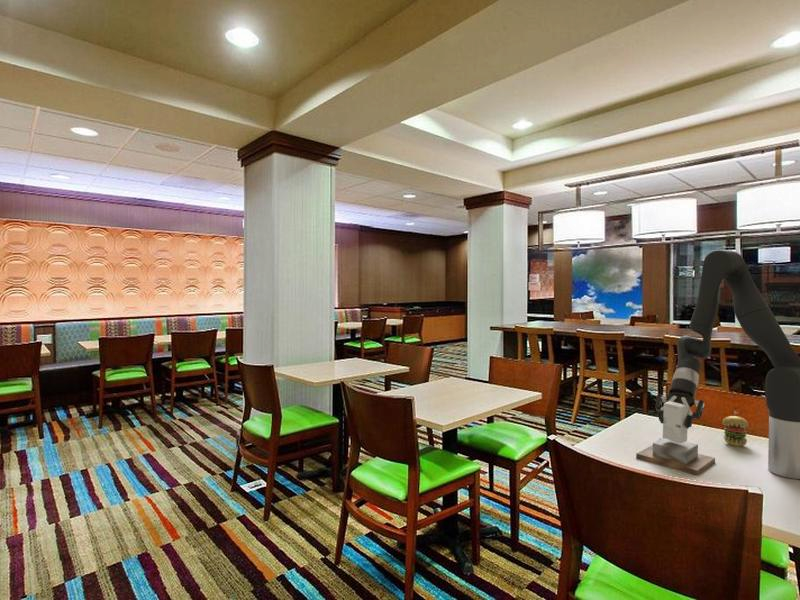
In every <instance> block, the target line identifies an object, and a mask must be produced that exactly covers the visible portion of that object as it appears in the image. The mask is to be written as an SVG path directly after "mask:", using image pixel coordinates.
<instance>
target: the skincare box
mask: <svg viewBox="0 0 800 600" xmlns="http://www.w3.org/2000/svg"><path fill="white" fill-rule="evenodd" d="M663 406H664V413H663V424H662V438H665V439H668V440H671V441H675V442H678V443H682V442H688V430H689V429H687V428H686V427H685V422H686V418H687V416H688V408H689V406H688V405H684V404H681V403H676V402H672V401H670V402H667V401H666V402H663Z"/></svg>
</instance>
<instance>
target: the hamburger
mask: <svg viewBox="0 0 800 600" xmlns="http://www.w3.org/2000/svg"><path fill="white" fill-rule="evenodd" d="M733 414H734V415H729V416H726V417H724V418H723V419H722V425H723V426H725V427H724V428H723V430H724V431H723V434H724V435H723V439H724V441H725V442H726V443H727V444H729V445H731V446H733V447H738V446H740V447H744V446H745V445H746V444H747V443H748V439H747V434H748V432H747V430H746V428H748V427H749V422H748V420H746V419H745V418H743V417H741V416H738V415H737V414H739V411H736V410H733ZM736 415H737V416H736Z"/></svg>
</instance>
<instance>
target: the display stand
mask: <svg viewBox="0 0 800 600" xmlns="http://www.w3.org/2000/svg"><path fill="white" fill-rule="evenodd" d="M638 458H640V459H639V460H642V459H643V460H642V461H645V460H646V462H650V463H653V464H657V465H660V466H664V467H667V468H670V469H674V470H678V471H681V472H684V473H688V474H691V475H695V476H698V475H700V474H701V473H702V472H704V471H705V470H707V469H708V468H709V467H711V466H712V465H713V464H715V463H716V457H713V456H710V455H705V454H701V453H699V444H698V443H692V442H689V441H685V442H682V443H678V442H675V441H671V440H668V439H665V438H663V437H661V438H659V439H658V440H656V441H653V443H652V445H650V446H648V447H646V448H644V449H642V450H640V451H638V452H637V453H636V459H638Z"/></svg>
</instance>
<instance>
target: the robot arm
mask: <svg viewBox="0 0 800 600" xmlns="http://www.w3.org/2000/svg"><path fill="white" fill-rule="evenodd" d="M701 268H702V269H701V275H700V276H701V277H700V283H699V290H698V295H697V299H696V303H695V307H694V311H693V313H692V317H691V319H690V322H689V326H688V327H689V329H690V331H692V332H695V333H697V334H699V335H700V336H701V337H702V339H701V338H698V337H694V336H690V335H682V336H681V337H680V338H678V340H677V342H676V350H677V351H676V352H677V359H678V360H677V364H676V368H675V372H674V373H673V376H672V379H671V383H670V387H669V391H668V394H667V395H662V393H657V395H656V400H655V406H654V407H655V410H656V412H657V413H659V416H658V420H659V422H660V424H662V425H663V413H664V405H663V403H665V400H666V402H670V401H672V402H676V403H681V404H684V405H688V406H689V408H688V416H687V418H686V422H685V427H686V428H687V429H688V430H689V429H690V428H691V427H692V426H693V422H694V420H695V419H697V420H700V419H701V418H702V416H703V413H704V410H705V406H706V405H705V402H704V400H703V399H699V400H697V399H695V398H696V395H697V390H698V386H699V378H700V373H701V368H702V363H701V361H700V360H706V359H708V358H709V357H710V356H711V353H712V335H713V334H712V333H713V329H714V326H715V323H716V320H717V319H718V315H719V314H718V313H719V290H720V287H721V284H722V281H724V282H725V283H726V285H727V286H728V288H729V290H730V291H731V294H732V304H733V305H732V306H733V312H734V315H735V318H736V320H737V322H738V324H739V326H740V327H741V329H742V330H743V332H744V333H745V335H746V336H747V337H748V338H749V339H750V340H751V341H752V342H753V343H754V344H756V346H758V347H759V348H760V349H761V350H762V351H763V352H764V353H765V354H766V356H767V357H768V358H769V360H770V362H771V364H772V365H773V367H774V368H772V369H770V370H769V371H768V372H767V374H766V377H765V385H764V386H765V389H764V390H765V405H766V407H767V410H768V451H767V452H768V455H767V457H768V461H767V468H768V471H769V472H771V473H773V474H774V475H777V476H780V477H783V478H784V477H785V478H788V479H795V480H800V355H798V353H797V351H796V350H795V349H794V347H793V346H792V344H791V343H790V341H789V339H788V337H787V335H786V333H785V332H784V330H783V329H782V327H781V326H780V324H779V322H778V320H777V318H776V316H775V315H774V313H773V311H772V310H771V308H770V306H769V305H768V303H767V302H766V300H765V298H764V297H763V295H762V293H761V292H760V290H759V289H758V287H757V285H756V284H755V282H754V280H753V278H752V276H751V273H750V270H749V268H748V266H747V263H746V261H745V260H744V258H743V256H742V255H741V254H740V253H738V252H737V251H734V250H726V249H714V250H712V251H710V252H708V253H707V254H706V256H705V257H704V259H703V263H702V267H701ZM699 359H700V360H699ZM662 405H663V406H662ZM694 405H695V406H696V409H695V412H692V410H691V408H692V407H693V406H694Z"/></svg>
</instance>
